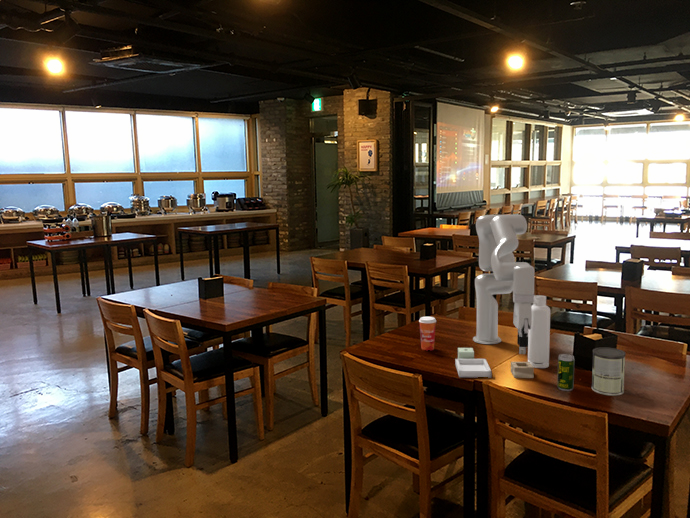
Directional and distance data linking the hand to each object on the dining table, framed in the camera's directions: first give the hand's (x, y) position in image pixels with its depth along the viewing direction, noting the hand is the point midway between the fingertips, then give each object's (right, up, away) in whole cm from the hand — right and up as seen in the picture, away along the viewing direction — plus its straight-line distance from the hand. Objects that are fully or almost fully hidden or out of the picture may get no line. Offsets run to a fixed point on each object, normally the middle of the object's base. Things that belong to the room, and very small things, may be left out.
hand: (522, 345), depth 208 cm
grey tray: (-17, -11, +8) cm, 22 cm away
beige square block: (0, -12, +2) cm, 12 cm away
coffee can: (+25, -13, -16) cm, 32 cm away
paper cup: (-30, -8, +38) cm, 49 cm away
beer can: (+11, -13, -13) cm, 22 cm away
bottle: (+10, -10, +13) cm, 19 cm away
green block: (-17, -10, +19) cm, 28 cm away
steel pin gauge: (0, -3, 0) cm, 3 cm away
